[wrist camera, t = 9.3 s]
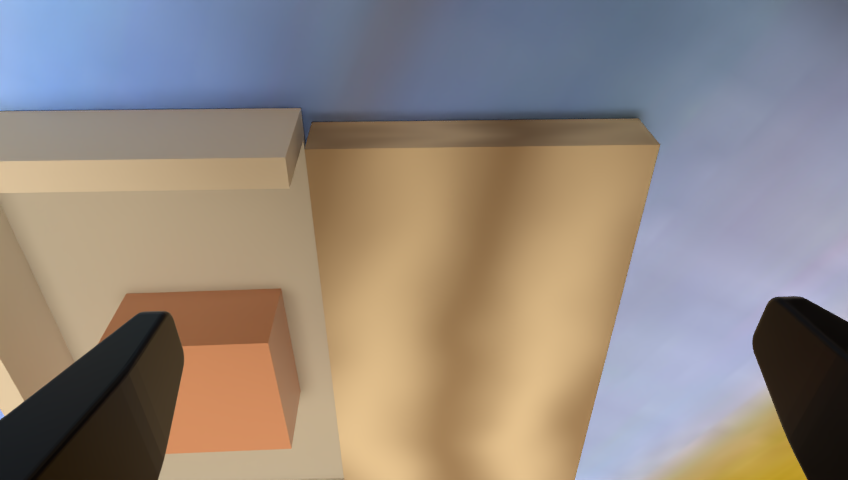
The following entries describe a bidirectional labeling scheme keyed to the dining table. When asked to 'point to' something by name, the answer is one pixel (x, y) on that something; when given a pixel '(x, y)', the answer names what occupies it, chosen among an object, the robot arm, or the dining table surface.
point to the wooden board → (472, 287)
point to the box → (161, 249)
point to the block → (227, 368)
